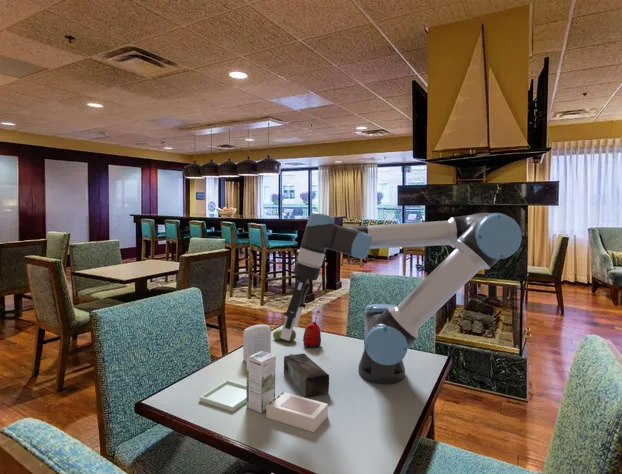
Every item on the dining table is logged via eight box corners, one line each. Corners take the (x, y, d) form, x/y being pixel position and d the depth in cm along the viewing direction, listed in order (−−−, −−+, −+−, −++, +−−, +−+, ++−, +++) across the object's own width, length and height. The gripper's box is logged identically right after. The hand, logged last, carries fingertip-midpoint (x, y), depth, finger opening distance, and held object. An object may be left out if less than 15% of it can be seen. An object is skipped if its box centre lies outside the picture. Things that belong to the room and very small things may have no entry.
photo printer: (267, 353, 145) (267, 321, 144) (272, 357, 142) (272, 324, 141) (241, 359, 140) (241, 326, 138) (246, 363, 136) (246, 329, 135)
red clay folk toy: (305, 341, 158) (305, 305, 157) (322, 342, 157) (323, 306, 156) (301, 348, 151) (301, 310, 150) (319, 349, 150) (319, 311, 148)
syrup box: (260, 399, 112) (260, 350, 110) (275, 405, 108) (275, 354, 107) (246, 407, 107) (245, 356, 106) (261, 414, 104) (261, 361, 102)
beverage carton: (305, 369, 132) (305, 350, 132) (330, 395, 115) (330, 373, 114) (283, 373, 129) (283, 353, 129) (305, 400, 112) (305, 378, 111)
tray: (199, 401, 110) (199, 396, 110) (227, 383, 121) (227, 379, 121) (233, 411, 105) (233, 407, 105) (259, 392, 115) (259, 388, 115)
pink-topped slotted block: (266, 417, 102) (266, 403, 102) (282, 403, 109) (282, 390, 109) (313, 432, 96) (313, 417, 95) (327, 416, 103) (327, 402, 102)
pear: (290, 330, 154) (269, 330, 159) (292, 343, 155) (271, 343, 159) (297, 326, 159) (277, 326, 164) (299, 339, 159) (279, 339, 164)
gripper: (302, 257, 128) (284, 318, 129) (289, 264, 103) (267, 340, 104) (324, 263, 127) (306, 325, 128) (316, 272, 102) (294, 349, 103)
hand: (288, 332), depth 116 cm, fingers open, 13 cm apart
